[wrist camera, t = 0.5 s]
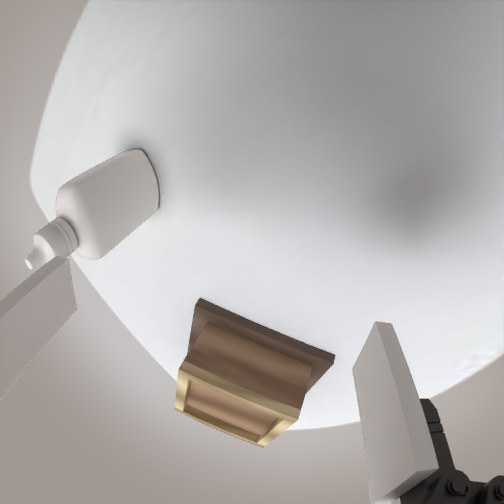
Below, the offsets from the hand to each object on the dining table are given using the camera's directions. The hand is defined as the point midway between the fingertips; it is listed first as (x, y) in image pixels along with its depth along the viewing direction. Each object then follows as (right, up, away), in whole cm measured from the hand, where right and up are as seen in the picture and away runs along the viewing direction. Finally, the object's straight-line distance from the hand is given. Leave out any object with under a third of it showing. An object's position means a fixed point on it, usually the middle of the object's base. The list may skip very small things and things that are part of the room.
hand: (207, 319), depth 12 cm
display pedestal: (+2, -10, +21) cm, 23 cm away
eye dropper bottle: (-7, +9, +12) cm, 16 cm away
